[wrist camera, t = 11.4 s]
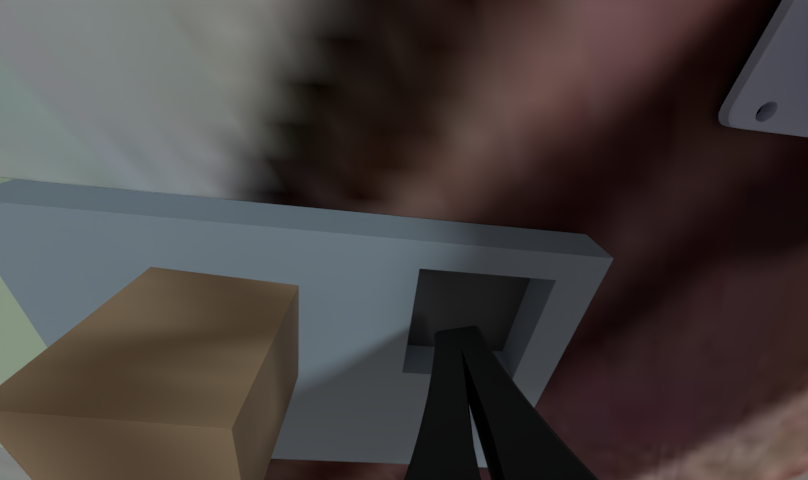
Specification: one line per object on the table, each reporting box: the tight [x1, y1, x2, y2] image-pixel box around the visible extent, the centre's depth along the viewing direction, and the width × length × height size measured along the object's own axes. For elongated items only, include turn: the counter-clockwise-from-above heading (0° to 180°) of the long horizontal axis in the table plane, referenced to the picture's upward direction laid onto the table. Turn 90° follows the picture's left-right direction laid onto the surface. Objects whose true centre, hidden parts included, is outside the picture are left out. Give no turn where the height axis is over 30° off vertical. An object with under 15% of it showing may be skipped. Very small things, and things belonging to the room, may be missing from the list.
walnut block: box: [0, 267, 299, 480], centre depth 9 cm, size 4×4×4 cm
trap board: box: [0, 178, 614, 467], centre depth 12 cm, size 25×13×2 cm, turn 84°
